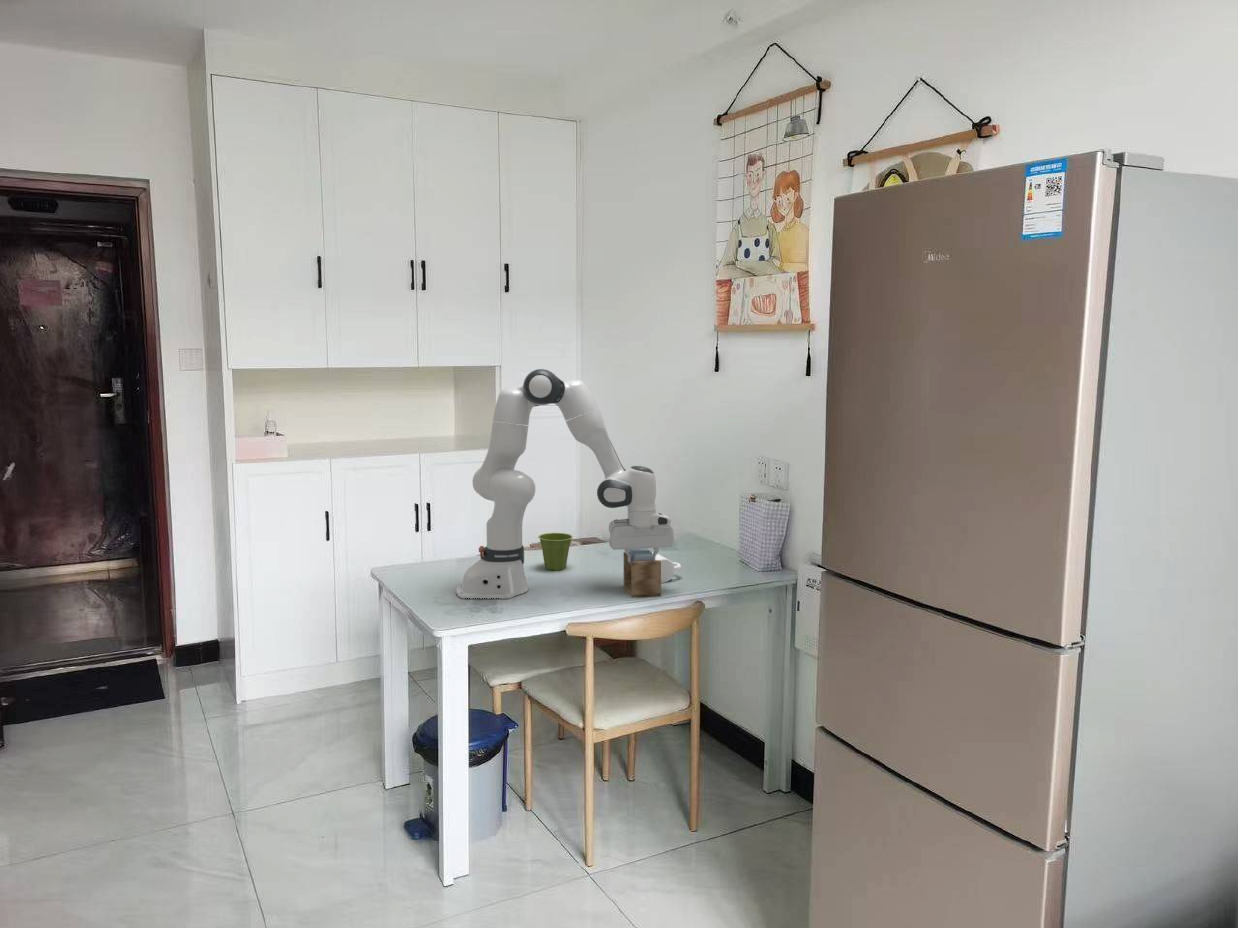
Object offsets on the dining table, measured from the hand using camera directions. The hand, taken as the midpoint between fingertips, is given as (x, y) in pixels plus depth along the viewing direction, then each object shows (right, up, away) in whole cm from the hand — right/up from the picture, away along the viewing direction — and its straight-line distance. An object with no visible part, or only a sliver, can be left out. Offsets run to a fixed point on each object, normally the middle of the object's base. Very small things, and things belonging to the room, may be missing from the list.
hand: (641, 561), depth 283 cm
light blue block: (0, -2, 0) cm, 2 cm away
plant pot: (-29, -6, +29) cm, 41 cm away
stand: (0, -9, +1) cm, 9 cm away
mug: (+7, -7, +16) cm, 19 cm away
